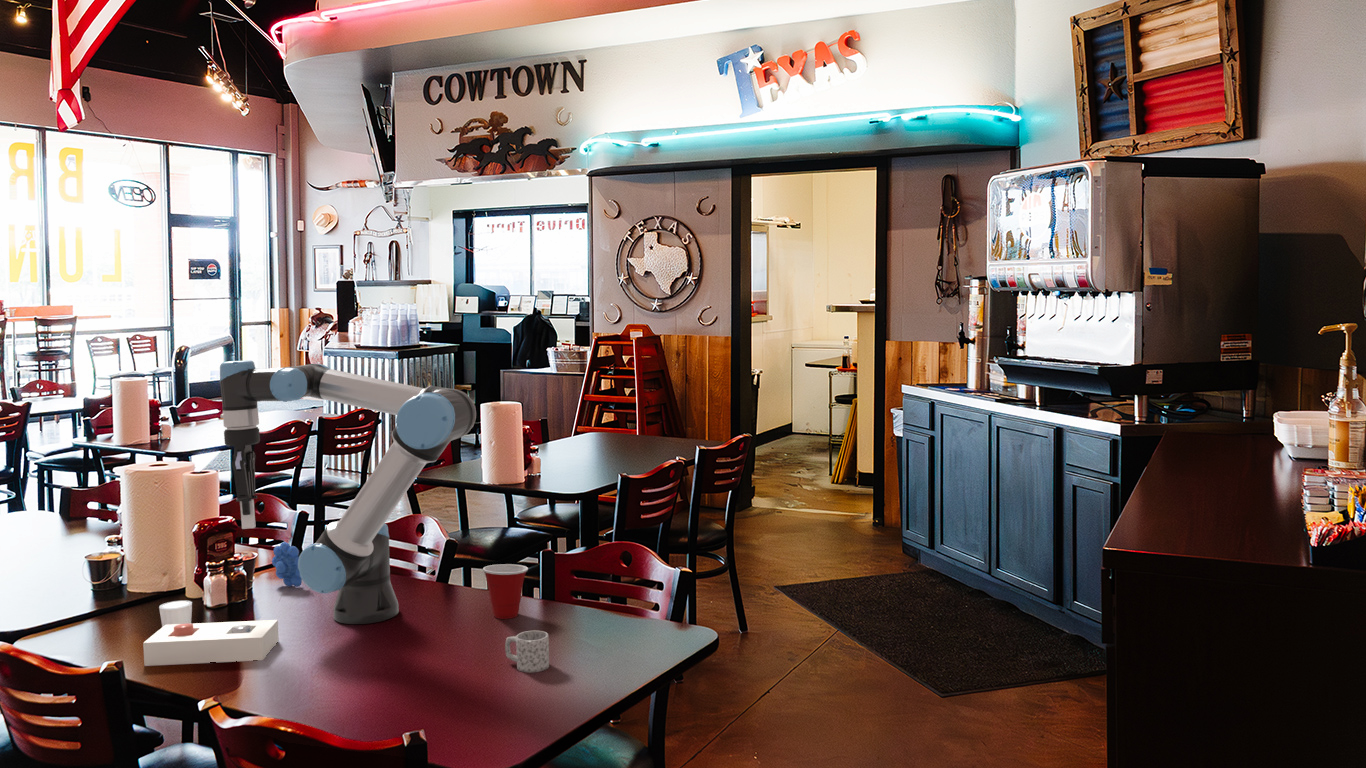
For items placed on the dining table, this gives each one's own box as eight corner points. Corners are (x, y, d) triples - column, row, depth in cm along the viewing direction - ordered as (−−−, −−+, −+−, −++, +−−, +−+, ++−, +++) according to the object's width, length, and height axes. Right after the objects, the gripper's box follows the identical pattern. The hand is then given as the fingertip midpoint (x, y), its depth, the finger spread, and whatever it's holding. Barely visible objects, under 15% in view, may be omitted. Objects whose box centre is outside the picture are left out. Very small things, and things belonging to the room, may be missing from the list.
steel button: (254, 646, 223) (253, 624, 223) (248, 652, 219) (247, 629, 219) (236, 647, 223) (235, 625, 222) (230, 653, 219) (229, 630, 219)
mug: (555, 663, 212) (554, 632, 212) (538, 674, 206) (537, 642, 206) (514, 657, 217) (514, 627, 216) (497, 667, 210) (496, 636, 210)
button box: (278, 641, 228) (277, 619, 227) (263, 660, 216) (261, 637, 215) (166, 646, 225) (165, 624, 225) (144, 665, 213) (143, 642, 213)
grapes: (261, 588, 271) (259, 543, 270) (281, 581, 277) (279, 538, 276) (292, 593, 266) (290, 548, 265) (312, 586, 272) (310, 542, 271)
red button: (196, 645, 222) (195, 623, 221) (190, 651, 218) (189, 628, 218) (178, 646, 221) (177, 623, 221) (172, 652, 218) (170, 629, 217)
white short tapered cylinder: (180, 639, 230) (178, 609, 229) (153, 637, 231) (152, 607, 231) (200, 629, 237) (198, 600, 236) (174, 628, 238) (172, 599, 237)
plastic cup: (538, 612, 248) (537, 563, 247) (511, 624, 238) (509, 574, 237) (502, 606, 253) (501, 559, 252) (474, 618, 243) (473, 569, 242)
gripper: (231, 425, 240) (238, 523, 242) (216, 431, 227) (224, 535, 229) (264, 423, 241) (271, 521, 243) (252, 429, 228) (259, 532, 230)
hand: (248, 527), depth 236 cm, fingers closed
